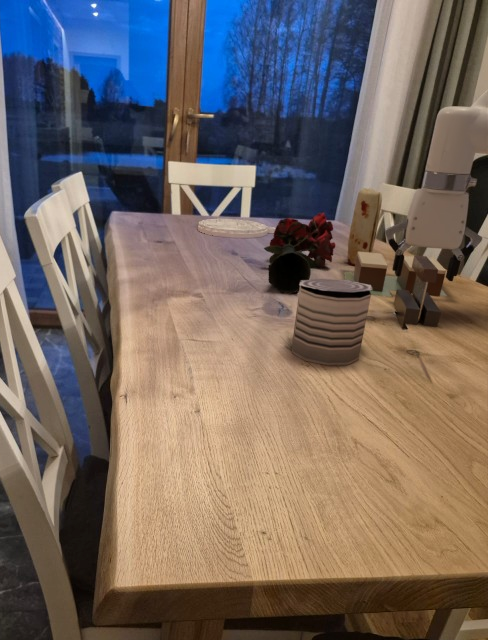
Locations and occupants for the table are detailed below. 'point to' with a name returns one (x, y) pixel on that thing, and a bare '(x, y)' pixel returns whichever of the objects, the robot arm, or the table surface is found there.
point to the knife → (422, 278)
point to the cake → (409, 274)
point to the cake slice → (370, 270)
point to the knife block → (415, 310)
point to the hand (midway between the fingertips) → (423, 277)
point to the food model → (364, 223)
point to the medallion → (234, 228)
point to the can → (330, 321)
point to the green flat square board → (389, 285)
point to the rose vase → (298, 251)
